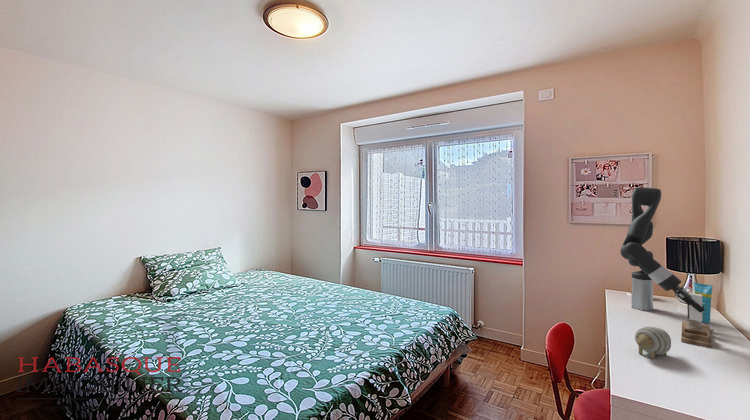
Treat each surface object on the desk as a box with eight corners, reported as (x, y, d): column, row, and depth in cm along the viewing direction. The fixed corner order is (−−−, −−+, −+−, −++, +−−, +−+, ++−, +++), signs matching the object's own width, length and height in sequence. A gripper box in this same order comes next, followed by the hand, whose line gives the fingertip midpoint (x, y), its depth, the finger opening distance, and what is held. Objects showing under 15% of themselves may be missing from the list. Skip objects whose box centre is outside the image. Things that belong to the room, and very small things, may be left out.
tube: (691, 319, 162) (690, 282, 161) (696, 318, 164) (695, 281, 163) (710, 324, 155) (710, 285, 155) (715, 322, 157) (715, 284, 156)
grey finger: (687, 318, 139) (687, 294, 138) (687, 317, 141) (687, 292, 141) (702, 321, 135) (702, 296, 135) (702, 319, 137) (701, 294, 137)
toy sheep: (626, 353, 128) (626, 326, 128) (649, 345, 135) (649, 319, 134) (658, 365, 118) (658, 335, 118) (681, 355, 125) (681, 327, 125)
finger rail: (681, 341, 137) (680, 313, 137) (682, 323, 157) (681, 298, 157) (711, 347, 131) (711, 318, 130) (708, 328, 150) (708, 302, 150)
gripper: (671, 275, 138) (712, 309, 129) (672, 270, 148) (710, 301, 139) (655, 285, 142) (694, 319, 133) (657, 280, 152) (693, 311, 143)
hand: (702, 310), depth 136 cm, fingers closed on grey finger, 3 cm apart
